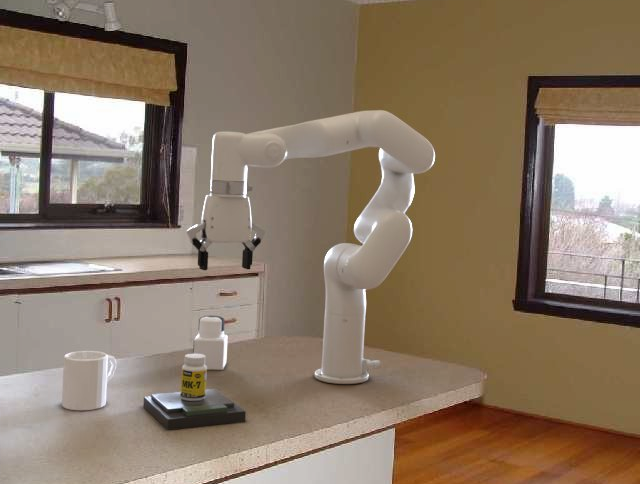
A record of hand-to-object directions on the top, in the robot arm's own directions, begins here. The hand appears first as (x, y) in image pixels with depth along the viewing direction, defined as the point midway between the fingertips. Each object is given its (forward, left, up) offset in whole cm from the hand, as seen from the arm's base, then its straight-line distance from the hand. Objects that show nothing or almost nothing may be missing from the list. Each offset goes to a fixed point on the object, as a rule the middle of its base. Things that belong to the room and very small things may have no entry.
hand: (225, 269), depth 189 cm
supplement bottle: (+11, +15, -24) cm, 30 cm away
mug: (+27, +2, -26) cm, 38 cm away
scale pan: (+11, +15, -24) cm, 30 cm away
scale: (+11, +16, -26) cm, 32 cm away
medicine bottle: (-5, -20, -26) cm, 34 cm away
